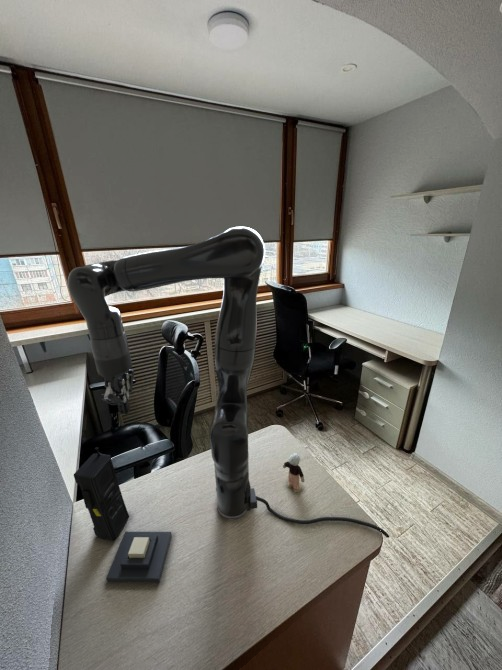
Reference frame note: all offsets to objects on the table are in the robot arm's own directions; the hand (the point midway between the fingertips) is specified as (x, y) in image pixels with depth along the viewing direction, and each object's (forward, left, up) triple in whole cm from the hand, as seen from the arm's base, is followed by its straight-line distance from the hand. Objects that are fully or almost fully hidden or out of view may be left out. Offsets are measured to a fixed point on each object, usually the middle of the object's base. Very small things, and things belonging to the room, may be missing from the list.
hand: (125, 412), depth 69 cm
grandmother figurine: (-45, +6, -31) cm, 55 cm away
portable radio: (+7, +8, -31) cm, 33 cm away
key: (-2, +17, -28) cm, 33 cm away
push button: (-2, +17, -31) cm, 35 cm away
